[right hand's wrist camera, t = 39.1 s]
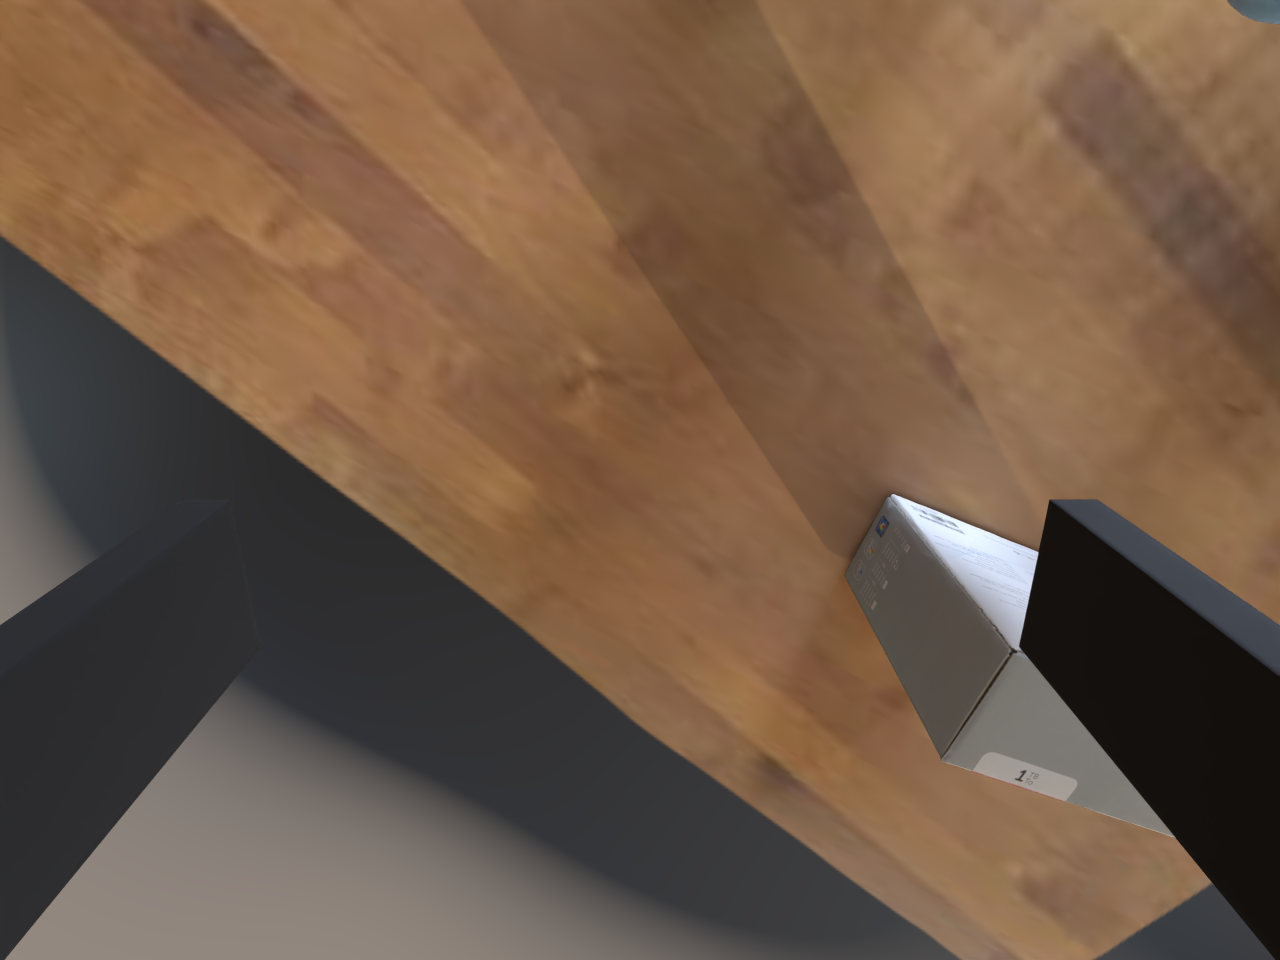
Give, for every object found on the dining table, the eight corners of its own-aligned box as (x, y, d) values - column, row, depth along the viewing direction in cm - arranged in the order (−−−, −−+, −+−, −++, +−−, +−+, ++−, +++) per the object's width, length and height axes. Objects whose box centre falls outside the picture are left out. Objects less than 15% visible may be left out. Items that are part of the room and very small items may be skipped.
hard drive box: (839, 576, 58) (933, 760, 40) (888, 489, 56) (1012, 643, 37) (1015, 641, 60) (1182, 845, 42) (1069, 560, 58) (1274, 739, 39)
